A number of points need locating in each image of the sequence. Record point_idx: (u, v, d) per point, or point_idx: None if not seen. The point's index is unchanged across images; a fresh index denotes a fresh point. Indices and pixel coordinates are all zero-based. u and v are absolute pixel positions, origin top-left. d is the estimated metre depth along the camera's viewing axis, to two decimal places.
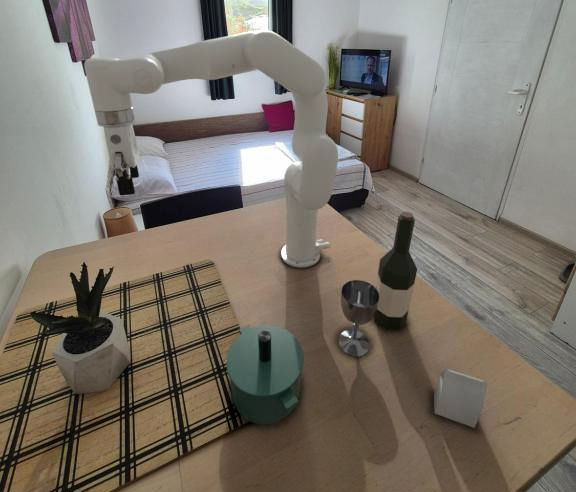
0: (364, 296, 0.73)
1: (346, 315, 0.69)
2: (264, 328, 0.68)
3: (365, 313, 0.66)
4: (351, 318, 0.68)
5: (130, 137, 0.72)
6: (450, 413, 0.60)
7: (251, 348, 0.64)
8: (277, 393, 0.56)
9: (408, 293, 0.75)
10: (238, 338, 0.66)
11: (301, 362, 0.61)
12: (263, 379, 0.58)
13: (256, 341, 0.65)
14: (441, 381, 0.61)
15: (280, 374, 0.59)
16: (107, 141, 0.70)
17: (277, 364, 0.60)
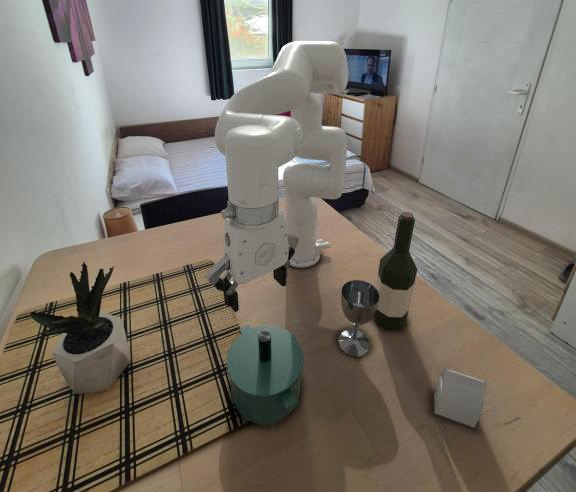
0: (364, 296, 0.73)
1: (346, 315, 0.69)
2: (264, 328, 0.68)
3: (365, 313, 0.66)
4: (351, 318, 0.68)
5: (246, 245, 0.48)
6: (450, 413, 0.60)
7: (251, 348, 0.64)
8: (277, 393, 0.56)
9: (408, 293, 0.75)
10: (238, 338, 0.66)
11: (301, 362, 0.61)
12: (263, 379, 0.58)
13: (256, 341, 0.65)
14: (441, 381, 0.61)
15: (280, 374, 0.59)
16: (224, 235, 0.50)
17: (277, 364, 0.60)
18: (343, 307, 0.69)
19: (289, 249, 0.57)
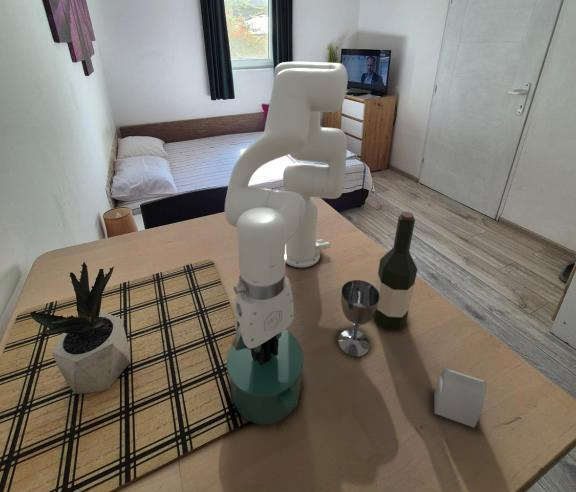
0: (364, 296, 0.73)
1: (346, 315, 0.69)
2: None
3: (366, 313, 0.66)
4: (351, 318, 0.68)
5: (257, 316, 0.52)
6: (450, 413, 0.60)
7: None
8: (277, 393, 0.56)
9: (408, 293, 0.75)
10: None
11: (301, 362, 0.61)
12: (263, 379, 0.58)
13: None
14: (441, 381, 0.61)
15: (279, 374, 0.59)
16: (235, 304, 0.55)
17: (277, 364, 0.60)
18: (343, 307, 0.69)
19: None
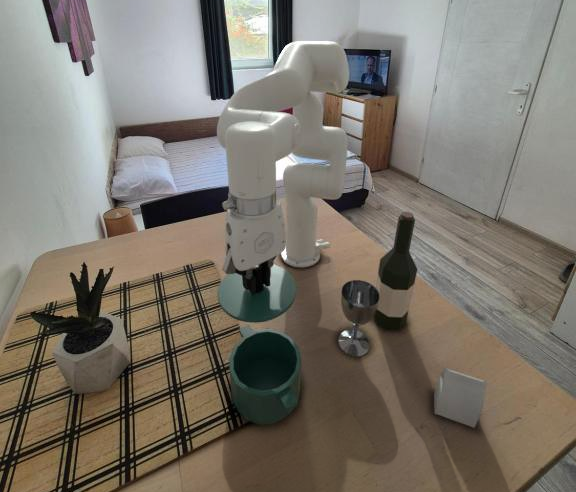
0: (364, 296, 0.73)
1: (346, 315, 0.69)
2: None
3: (366, 313, 0.66)
4: (351, 318, 0.68)
5: (247, 234, 0.51)
6: (450, 413, 0.60)
7: None
8: (269, 318, 0.54)
9: (408, 293, 0.75)
10: None
11: (294, 292, 0.59)
12: (255, 306, 0.56)
13: None
14: (441, 381, 0.61)
15: (272, 302, 0.57)
16: (225, 226, 0.53)
17: (270, 294, 0.59)
18: (343, 307, 0.69)
19: None
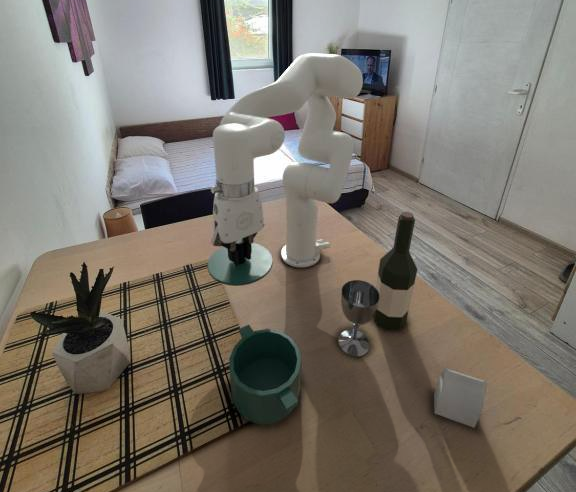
0: (364, 296, 0.73)
1: (346, 315, 0.69)
2: None
3: (366, 313, 0.66)
4: (351, 318, 0.68)
5: (230, 213, 0.64)
6: (450, 413, 0.60)
7: None
8: (248, 282, 0.67)
9: (408, 293, 0.75)
10: (218, 249, 0.77)
11: (270, 264, 0.72)
12: (237, 274, 0.69)
13: None
14: (441, 381, 0.61)
15: (251, 271, 0.70)
16: (213, 207, 0.66)
17: (250, 265, 0.72)
18: (343, 307, 0.69)
19: None
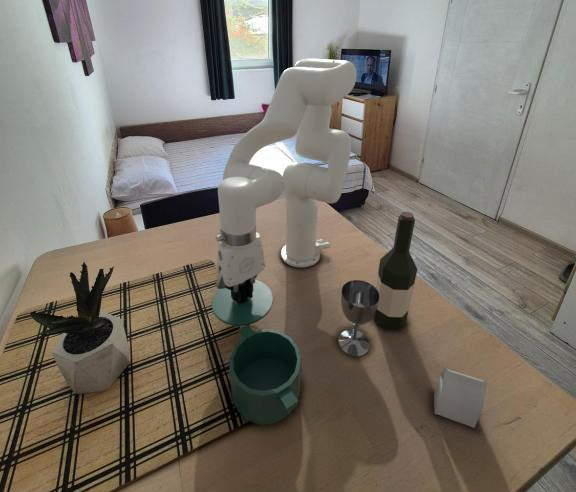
0: (364, 296, 0.73)
1: (346, 315, 0.69)
2: None
3: (366, 313, 0.66)
4: (351, 318, 0.68)
5: (233, 260, 0.68)
6: (450, 413, 0.60)
7: None
8: (250, 322, 0.72)
9: (408, 293, 0.75)
10: None
11: (271, 303, 0.77)
12: (240, 313, 0.74)
13: None
14: (441, 381, 0.61)
15: (253, 310, 0.75)
16: None
17: (252, 304, 0.76)
18: (343, 307, 0.69)
19: None
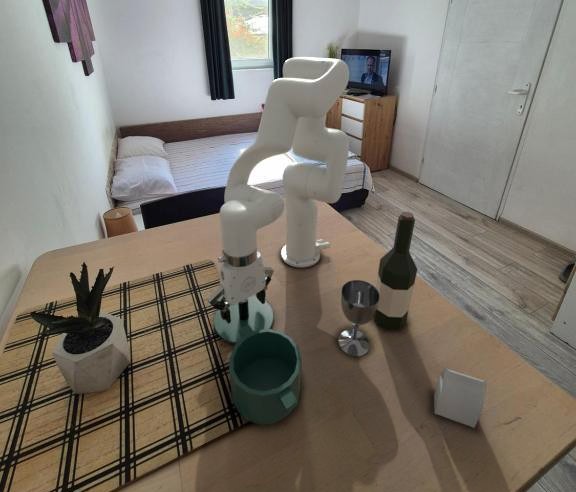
0: (364, 296, 0.73)
1: (346, 315, 0.69)
2: None
3: (366, 313, 0.66)
4: (351, 318, 0.68)
5: (235, 280, 0.71)
6: (450, 413, 0.60)
7: (234, 311, 0.82)
8: None
9: (408, 293, 0.75)
10: None
11: (271, 320, 0.79)
12: None
13: (238, 306, 0.83)
14: (441, 381, 0.61)
15: (254, 328, 0.77)
16: (220, 272, 0.73)
17: (253, 322, 0.79)
18: (343, 307, 0.69)
19: (267, 277, 0.80)
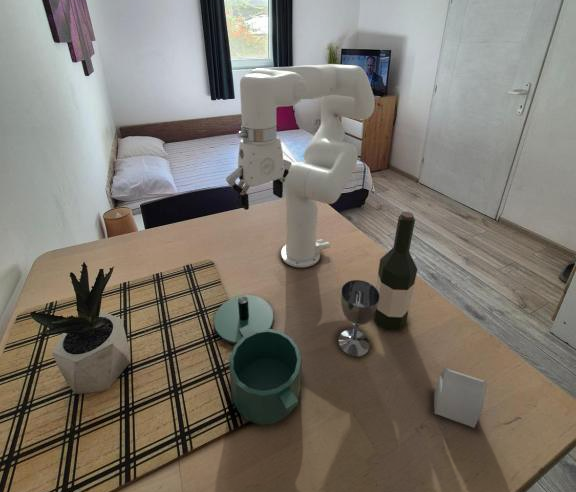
0: (364, 296, 0.73)
1: (346, 315, 0.69)
2: None
3: (366, 313, 0.66)
4: (351, 318, 0.68)
5: (255, 157, 0.69)
6: (450, 413, 0.60)
7: (234, 311, 0.82)
8: None
9: (408, 293, 0.75)
10: (224, 304, 0.84)
11: (271, 320, 0.79)
12: None
13: (238, 306, 0.83)
14: (441, 381, 0.61)
15: (254, 328, 0.77)
16: None
17: (253, 322, 0.79)
18: (343, 307, 0.69)
19: (284, 170, 0.79)
